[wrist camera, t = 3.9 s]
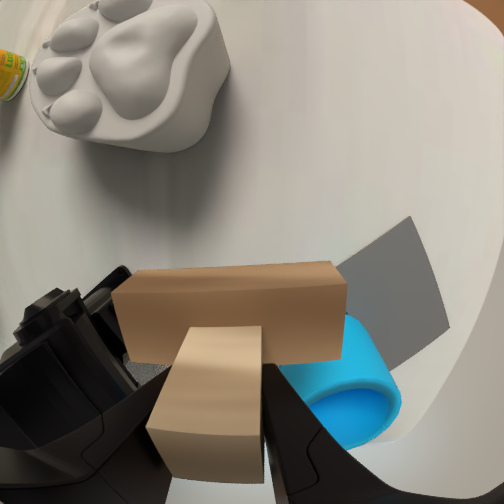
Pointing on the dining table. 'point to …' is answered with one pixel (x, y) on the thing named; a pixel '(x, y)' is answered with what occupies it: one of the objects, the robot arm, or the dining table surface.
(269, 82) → the dining table surface
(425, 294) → the charcoal mat
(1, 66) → the supplement bottle
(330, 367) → the mug
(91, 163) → the dining table surface
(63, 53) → the lumpy-topped squat cylinder
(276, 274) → the wooden t-shaped block
